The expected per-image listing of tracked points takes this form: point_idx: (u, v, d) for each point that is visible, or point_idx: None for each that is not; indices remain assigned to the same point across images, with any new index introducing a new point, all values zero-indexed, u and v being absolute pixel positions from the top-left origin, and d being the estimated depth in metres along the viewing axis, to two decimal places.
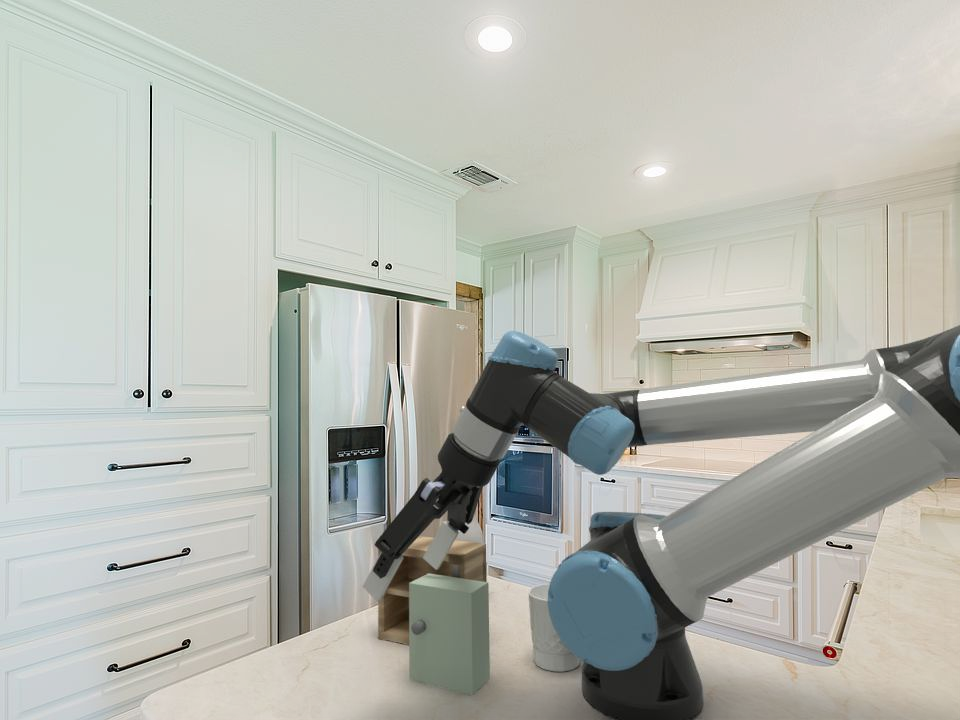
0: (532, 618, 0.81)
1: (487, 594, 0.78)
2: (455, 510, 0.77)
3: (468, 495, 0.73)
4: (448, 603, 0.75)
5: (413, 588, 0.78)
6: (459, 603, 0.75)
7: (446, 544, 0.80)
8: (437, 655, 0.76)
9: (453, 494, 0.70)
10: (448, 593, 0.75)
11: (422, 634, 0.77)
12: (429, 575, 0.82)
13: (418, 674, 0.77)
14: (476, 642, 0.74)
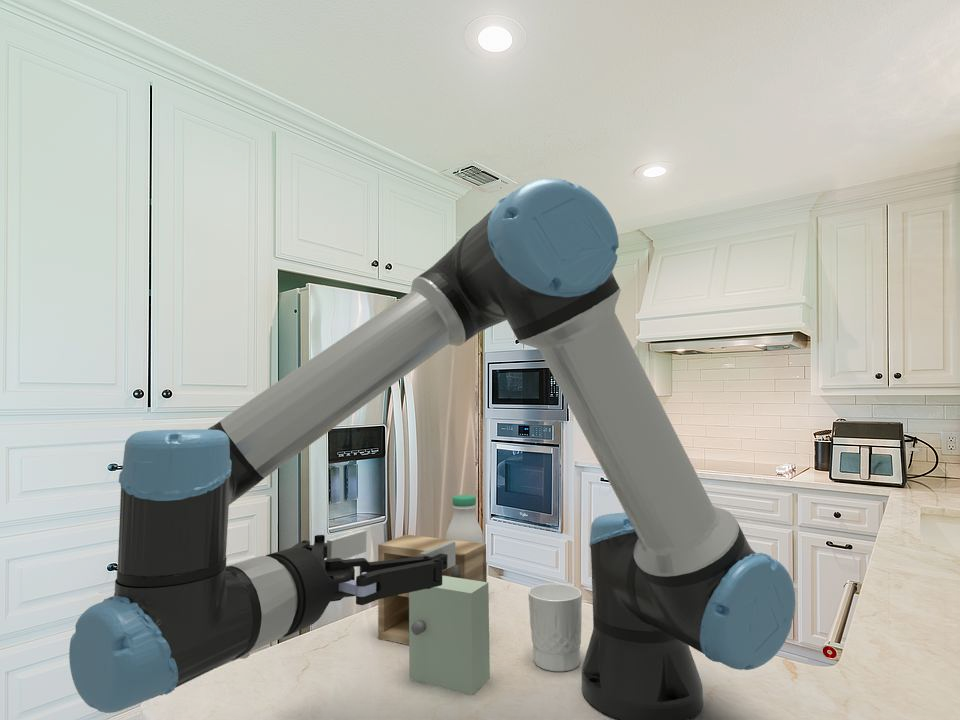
0: (532, 618, 0.81)
1: (487, 594, 0.78)
2: None
3: None
4: (448, 603, 0.75)
5: None
6: (459, 603, 0.75)
7: (344, 541, 0.70)
8: (437, 656, 0.76)
9: (335, 568, 0.56)
10: (448, 594, 0.75)
11: (422, 634, 0.77)
12: None
13: (418, 674, 0.77)
14: (476, 642, 0.74)
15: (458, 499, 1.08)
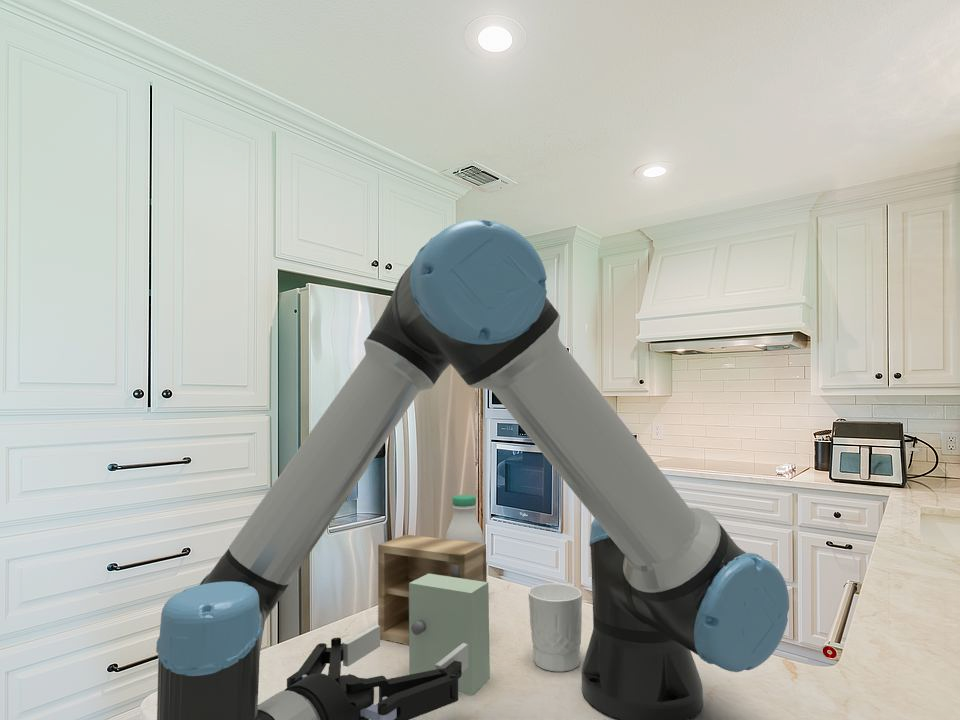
0: (532, 618, 0.81)
1: (487, 594, 0.78)
2: None
3: (334, 676, 0.60)
4: (448, 603, 0.75)
5: (413, 588, 0.78)
6: (459, 603, 0.75)
7: (359, 641, 0.72)
8: (437, 656, 0.76)
9: (355, 691, 0.58)
10: (448, 593, 0.75)
11: (422, 634, 0.77)
12: (429, 575, 0.82)
13: None
14: (476, 642, 0.74)
15: (458, 499, 1.08)
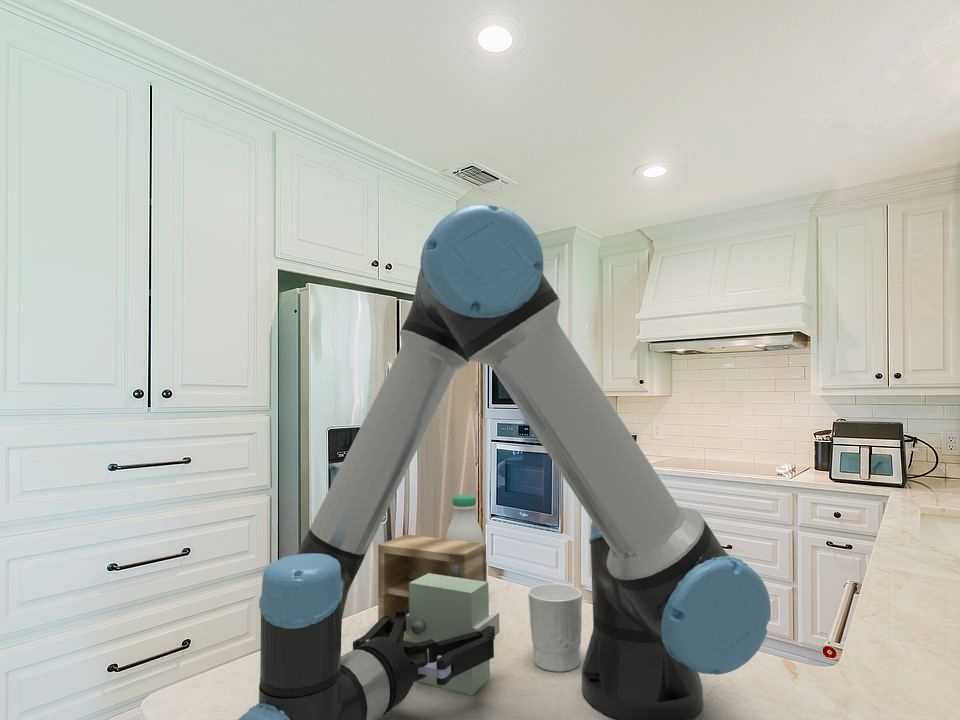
0: (532, 618, 0.81)
1: (487, 594, 0.78)
2: (401, 637, 0.74)
3: (392, 640, 0.69)
4: (448, 603, 0.75)
5: (413, 588, 0.78)
6: (459, 603, 0.75)
7: None
8: None
9: (413, 652, 0.67)
10: (448, 593, 0.75)
11: (422, 634, 0.77)
12: (429, 575, 0.82)
13: None
14: None
15: (458, 499, 1.08)
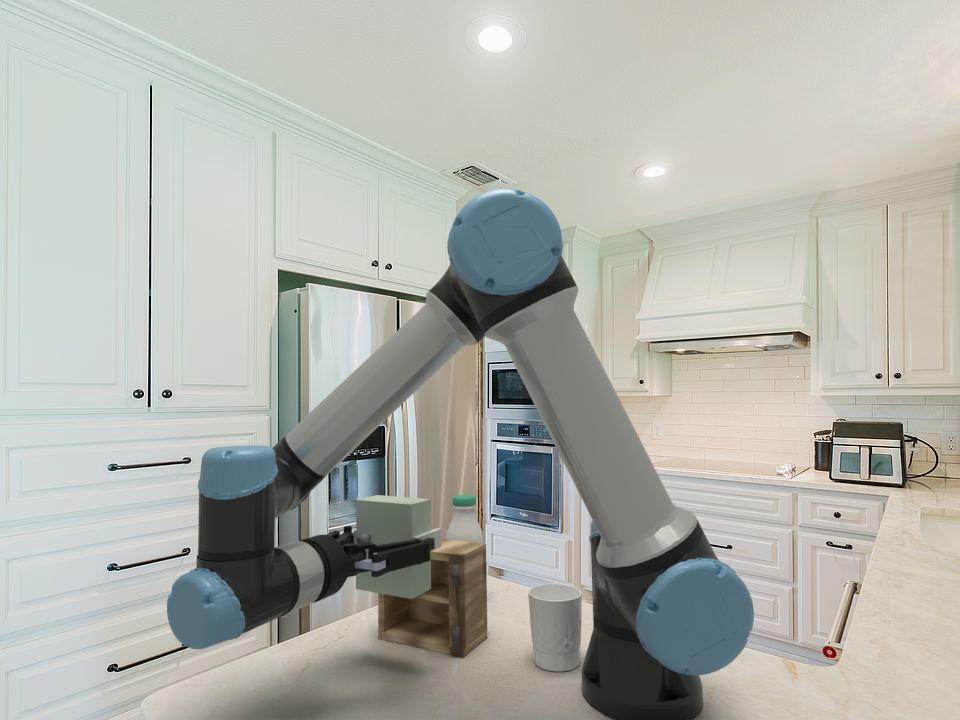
0: (532, 618, 0.81)
1: (429, 510, 0.83)
2: None
3: None
4: (391, 515, 0.81)
5: (360, 504, 0.83)
6: (401, 514, 0.80)
7: None
8: None
9: (352, 551, 0.72)
10: (391, 506, 0.81)
11: None
12: (377, 495, 0.87)
13: (363, 583, 0.82)
14: None
15: (458, 499, 1.08)
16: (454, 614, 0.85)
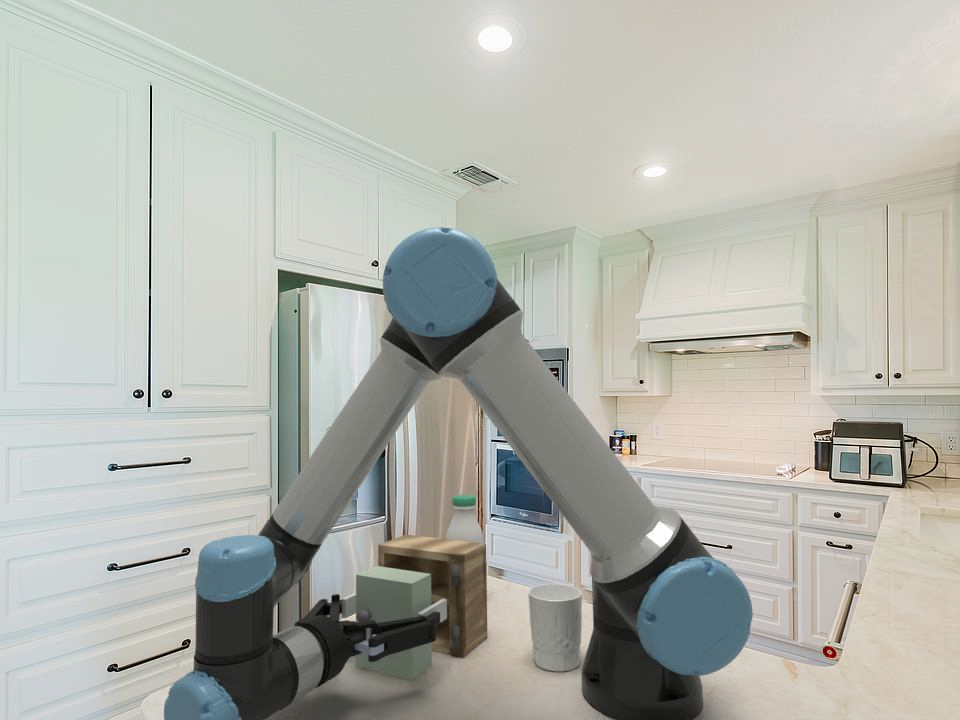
0: (532, 618, 0.81)
1: (429, 585, 0.82)
2: None
3: (333, 619, 0.73)
4: (391, 593, 0.80)
5: (359, 579, 0.82)
6: (401, 593, 0.79)
7: (355, 598, 0.85)
8: None
9: (351, 630, 0.71)
10: (391, 584, 0.80)
11: None
12: (377, 567, 0.86)
13: (363, 661, 0.81)
14: None
15: (458, 499, 1.08)
16: (454, 614, 0.85)
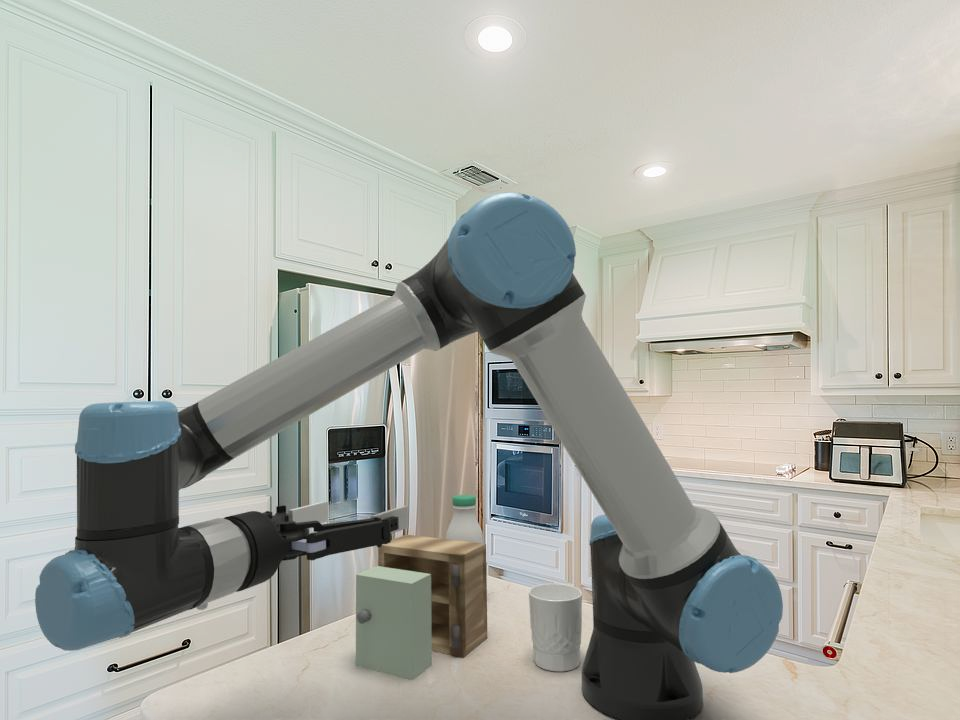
0: (532, 618, 0.81)
1: (429, 585, 0.82)
2: None
3: None
4: (391, 593, 0.80)
5: (359, 579, 0.82)
6: (401, 593, 0.79)
7: (305, 511, 0.74)
8: (380, 643, 0.80)
9: (289, 530, 0.61)
10: (391, 584, 0.80)
11: (367, 623, 0.81)
12: (377, 567, 0.86)
13: (363, 661, 0.81)
14: (416, 630, 0.79)
15: (458, 499, 1.08)
16: (454, 614, 0.85)
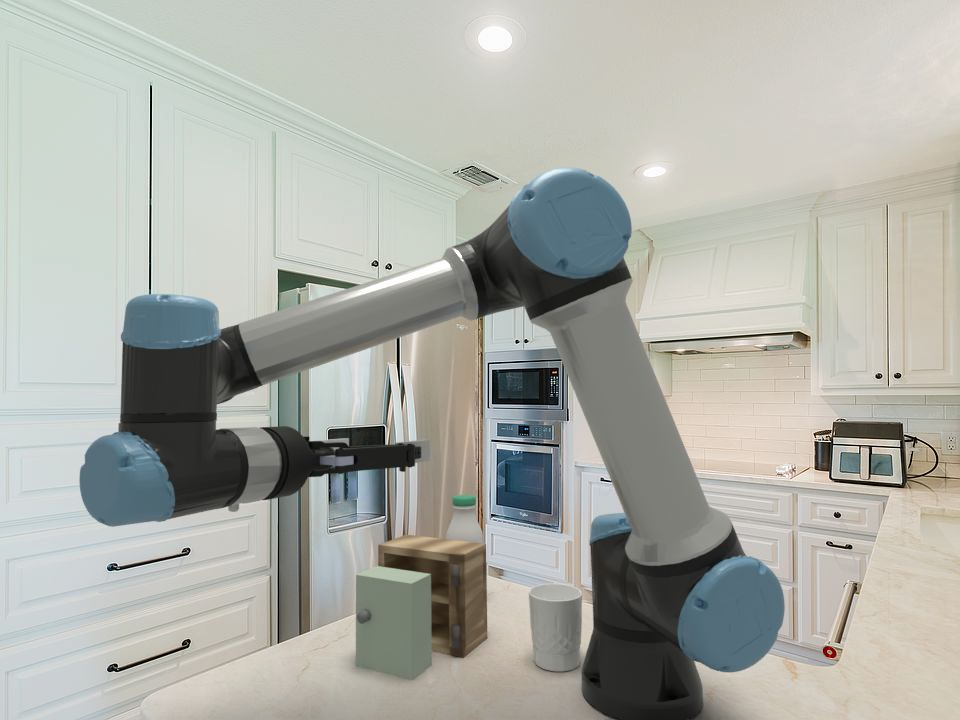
0: (532, 618, 0.81)
1: (429, 585, 0.82)
2: None
3: None
4: (391, 593, 0.80)
5: (359, 579, 0.82)
6: (401, 593, 0.79)
7: None
8: (380, 643, 0.80)
9: (316, 448, 0.62)
10: (391, 584, 0.80)
11: (367, 623, 0.81)
12: (377, 567, 0.86)
13: (363, 661, 0.81)
14: (416, 630, 0.79)
15: (458, 499, 1.08)
16: (454, 614, 0.85)
